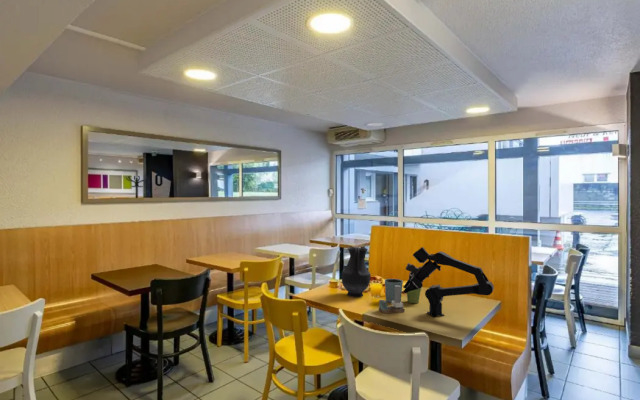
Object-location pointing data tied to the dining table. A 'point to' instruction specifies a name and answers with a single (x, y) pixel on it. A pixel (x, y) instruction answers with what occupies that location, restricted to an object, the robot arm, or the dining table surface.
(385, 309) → the rail bed
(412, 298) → the plant pot
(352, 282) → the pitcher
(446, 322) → the dining table surface
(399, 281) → the drinking glass
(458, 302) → the dining table surface
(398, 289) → the carriage
